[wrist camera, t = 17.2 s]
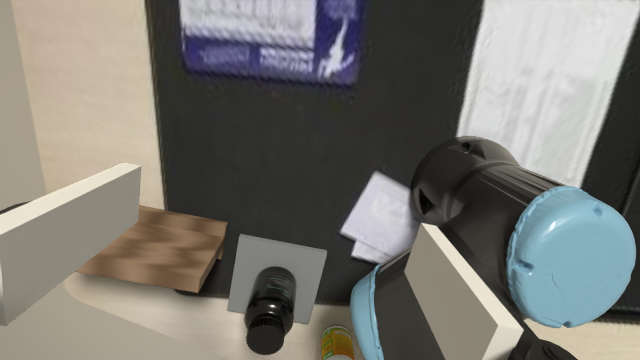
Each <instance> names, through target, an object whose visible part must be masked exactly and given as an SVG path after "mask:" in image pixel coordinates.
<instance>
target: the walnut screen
mask: <svg viewBox="0 0 640 360" xmlns="http://www.w3.org/2000/svg"><path fill="white" fill-rule="evenodd" d="M227 225H228V222H223V221H218V220H213V219H208V218H202V217H197V216H192V215H187V214H182V213H176V212H171V211H166V210H161V209H156V208H151V207H145V206H140V205H139V213H138V222H137V223H135V224H134V225H133V226H132V227H130V228H129V229H128V230H127V231H125V232H124V233H123V234H122V235H120V236H119V237H118V238H116V239H115V240H114V241H113V242H111V243H110V244H109V245H108V246H106V247H105V248H104V249H103V250H101V251H100V252H99V253H98V254H96V255H95V256H94V257H93V258H91V259H90V260H89V261H87V262H86V263H85V264H84V265H82V266H81V267H80V268H79V269H77V270H76V271H75V272H81V273H86V274H92V275H98V276H104V277H109V278H115V279H121V280H127V281H132V282H138V283H144V284H150V285H155V286H161V287H167V288H173V289H179V290H184V291H190V292H196V293H198V292H199V290H200V288H201V286H202V285H203V283H204V281H205V279H206V277H207V276H208V274H209V272H210V270H211V268H212V267H213V265H214V263H215V261H216V259H221V258H222V256H223V252H224V245H225V238H226V232H227Z"/></svg>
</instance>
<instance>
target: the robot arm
mask: <svg viewBox="0 0 640 360" xmlns="http://www.w3.org/2000/svg"><path fill="white" fill-rule="evenodd" d="M140 179H141V166H138V165H134V164H129V163H121V164H119V165H116V166H114V167H112V168H109V169H107V170H105V171H102V172H100V173H98V174H95V175H93V176H91V177H88V178H86V179H83V180H81V181H79V182H76V183H74V184H72V185H69V186H67V187H65V188H62V189H60V190H57V191H55V192H53V193H50V194H48V195H46V196H43V197H41V198H39V199H36V200H34V201H29V202H25V203H20V204H16V205H13V206H11V207H8V208H6V209H4V210H1V211H0V325H2V326H7V325H8V324H9V323H11V322H12V321H13V320H14V319H16V318H17V317H18V316H19V315H21V314H22V313H23V312H24V311H26V310H27V309H28V308H29V307H31V306H32V305H33V304H34V303H35V302H37V301H38V300H40V299H41V298H42V297H43V296H45V295H46V294H47V293H48V292H50V291H51V290H52V289H53V288H55V287H56V286H57V285H58V284H60V283H61V282H62V281H63V280H65V279H66V278H67V277H69V276H70V275H71V274H72V273H74V272H75V271H76V270H77V269H79V268H80V267H81V266H82V265H84V264H85V263H86V262H87V261H89V260H90V259H91V258H93V257H94V256H95V255H96V254H98V253H99V252H100V251H101V250H103V249H104V248H105V247H106V246H108V245H109V244H110V243H111V242H113V241H114V240H115V239H116V238H118V237H119V236H120V235H122V234H123V233H124V232H125V231H127V230H128V229H129V228H130V227H132V226H133V225H134V224H135V223H137V222H138V213H139V196H140ZM412 193H413V200H414V203H415V206H416V208H417V210H418V212H419V213H420V214H421V216H422V217H423V218H424V220H425V221H426V222H427V223H428V224H425V223H421V225H420V228H419V230H418V233H417V236H416V239H415V242H414V243H413V244H412V245H410V246H409V247H407V248H406V249H404V250H403V251H401V252H400V253H398V254H397V255H395V256H393V257H392V258H390V259H389V260H387V261H386V262H384V263H381V264H379V265H377V266H376V267H375V268H374V270H373V271H372V272H370V273H369V274H368V275H366V276H365V277H364V278H362V279H361V280H360V281H358V282H357V283H356V285H355V286H354V288H353V290H352V294H351V300H350V313H351V319H352V324H353V328H354V332H355V335H356V339H357V342H358V344H359V347H360V350H361V352H362V354H363V357H364V359H365V360H578V359H576V358H575V357H574V356H573V355H572V354H571V353H569V352H568V351H566V350H565V349H563V348H561V347H560V346H558V345H556V344H554V343H552V342H549V341H546V340H542V339H539V338H538V337H537V336H536V335H535V334H534V332H533V331H532V330H531V329H530V328H529V327H528V326H527V324H526V323H525V322H524V321H523V320H525V319H527V318H530V319H531V320H532V321H535V322H537V323H539V324H542V325H544V326H548V327H551V328H560V327H561V326H562V325H564V326H565V327H567V328H571V327H576V326H580V325H583V324H585V323H588V322H590V321H592V320H594V319H596V318H597V317H599V316H600V315H602V314H603V313H604V312H606V311H607V310H608V309H609V308H610V307H611V306H612V305H613V304H614V303H615V302H616V301H617V300H618V299H619V297H620V296H621V295H622V293H623V292H624V290H625V288H626V286H627V285H628V283H629V281H630V275H631V272H632V270H633V268H634V265H635V258H636V247H635V241H634V237H633V234H632V231H631V229H630V227H629V225H628V224H627V222H626V221H625V219H624V218H623V217H622V216H621V215H620V214H619V213H618V212H617V211H616V210H615V209H613V208H612V207H610V206H609V205H607V204H605V203H603V202H601V201H599V200H597V199H595V198H593V197H592V196H590V195H589V194H587V193H586V192H583V190H581V189H578V188H576V187H571V186H567V185H564V184H562V183H559V182H557V181H554V180H552V179H549V178H547V177H544V176H542V175H539V174H537V173H534V172H532V171H529V170H527V169H524V168H522V167H521V166H520V165H519V164H518V162H517V161H516V160H515V158H514V157H513V156H512V155H511V153H510V152H509V151H508V150H506V149H505V148H504V147H503V146H501V145H499V144H498V143H496V142H493V141H490V140H487V139H484V138H481V137H476V136H463V137H457V138H453V139H450V140H448V141H446V142H443V143H442V144H440V145H438V146H437V147H435V148H434V149H433V150H432V151H430V152H429V153H428V154H427V156H426V157H425V158H424V159H423V160H422V162H421V163H420V165H419V167H418V169H417V171H416V173H415V176H414V180H413V187H412Z"/></svg>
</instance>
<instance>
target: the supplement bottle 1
mask: <svg viewBox="0 0 640 360" xmlns="http://www.w3.org/2000/svg"><path fill="white" fill-rule="evenodd" d="M296 288H297V284H296V279H295V277H294V275H293V274H292V273H291V272H290V271H289V270H287V269H285V268H283V267H279V266H271V267H268V268H265V269H263V270H262V271H261V272H260V273H259V274H258V275H257V277H256V279H255V282H254V285H253V288H252V291H251V295H250V298H249V301H248V305H247V308H246V311H245V316H244V321H245V325H246V328H247V336H246V338H247V339H246V341H247V344H248V347H250V349H251V350H252V351H254V352H255V353H258V354H261V355H270V354H274V353H276V352H277V351H279V349H281V347H282V346H283V343H284V337H285V335H286V334H287V333H288V332H289V331H290V330H291V328H292V325H293V321H294V312H295V301H296Z"/></svg>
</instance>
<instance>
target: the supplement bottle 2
mask: <svg viewBox="0 0 640 360" xmlns="http://www.w3.org/2000/svg"><path fill="white" fill-rule="evenodd" d="M321 353H322V360H355V359H354V352H353V345H352V338H351V334H350V332H349V331H348V330H347V329H346V328H345V327H342V326H331V327H329V328H327V329H326V330H325V331H324V332H323V334H322V337H321Z"/></svg>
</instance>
